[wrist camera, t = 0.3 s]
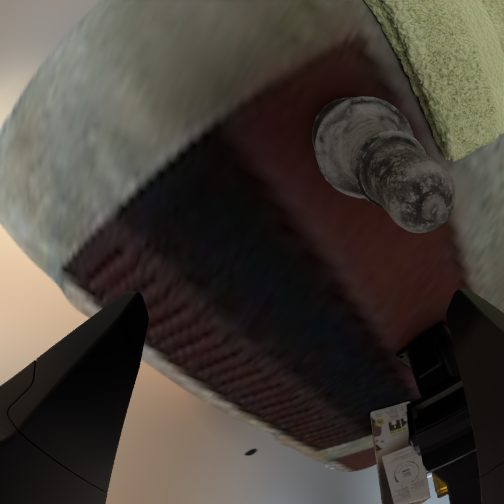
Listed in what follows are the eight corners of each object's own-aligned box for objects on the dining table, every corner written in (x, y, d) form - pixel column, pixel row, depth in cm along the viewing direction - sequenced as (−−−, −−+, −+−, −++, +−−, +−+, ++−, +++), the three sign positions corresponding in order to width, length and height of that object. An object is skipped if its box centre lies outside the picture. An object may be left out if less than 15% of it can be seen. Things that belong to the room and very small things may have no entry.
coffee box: (368, 411, 37) (383, 512, 23) (410, 399, 35) (432, 497, 22) (371, 432, 41) (382, 516, 28) (407, 421, 40) (423, 504, 26)
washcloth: (453, -73, 7) (473, -83, 4) (533, 116, 15) (557, 125, 12) (314, -58, 11) (322, -77, 8) (426, 162, 19) (448, 177, 16)
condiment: (451, 461, 64) (457, 489, 54) (441, 468, 68) (447, 495, 58) (433, 467, 65) (439, 496, 54) (424, 474, 69) (429, 501, 59)
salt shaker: (342, 74, 16) (445, 80, 6) (408, 131, 17) (529, 207, 7) (288, 144, 18) (315, 240, 8) (356, 194, 20) (428, 317, 10)
